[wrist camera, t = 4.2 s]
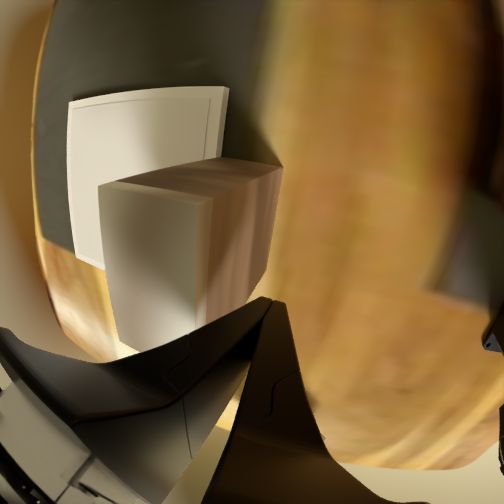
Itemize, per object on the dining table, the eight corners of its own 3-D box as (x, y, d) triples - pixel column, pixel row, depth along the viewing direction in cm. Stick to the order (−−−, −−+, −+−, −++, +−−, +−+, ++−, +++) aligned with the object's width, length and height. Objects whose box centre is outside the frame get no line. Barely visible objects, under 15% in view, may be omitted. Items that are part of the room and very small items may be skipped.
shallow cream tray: (229, 88, 14) (223, 86, 14) (209, 305, 21) (204, 311, 21) (75, 102, 18) (68, 102, 17) (81, 254, 25) (75, 257, 24)
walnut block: (283, 166, 16) (198, 204, 7) (266, 270, 19) (196, 378, 10) (221, 156, 16) (97, 185, 8) (212, 255, 20) (119, 341, 11)
